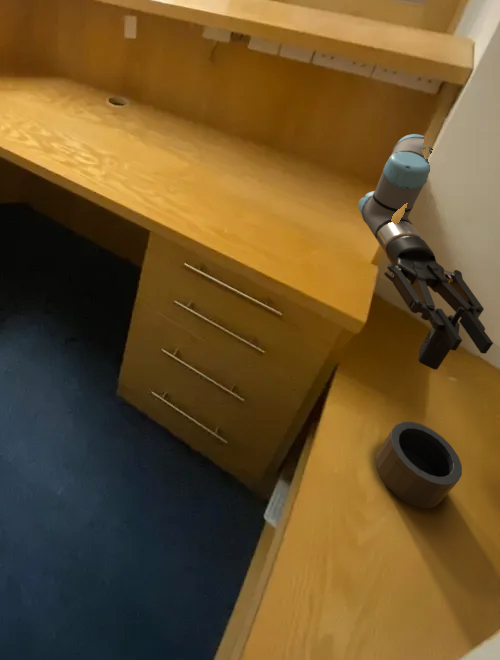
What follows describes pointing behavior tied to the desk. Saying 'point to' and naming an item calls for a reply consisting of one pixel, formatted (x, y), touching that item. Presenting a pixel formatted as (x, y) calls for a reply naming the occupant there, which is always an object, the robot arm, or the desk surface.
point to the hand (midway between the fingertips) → (471, 346)
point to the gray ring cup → (418, 465)
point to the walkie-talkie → (437, 344)
